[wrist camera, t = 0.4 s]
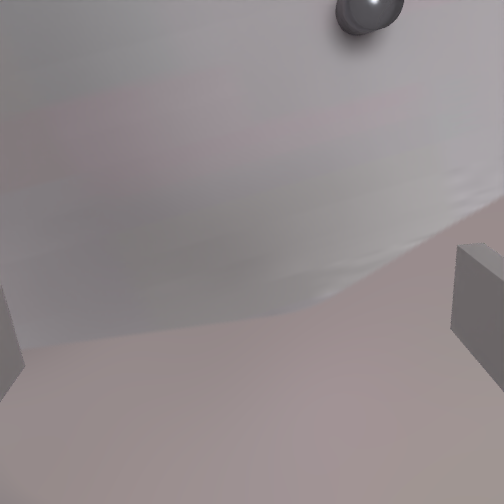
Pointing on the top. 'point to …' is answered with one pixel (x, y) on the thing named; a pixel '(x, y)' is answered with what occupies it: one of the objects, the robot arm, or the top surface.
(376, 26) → the short pin
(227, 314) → the top surface
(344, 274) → the top surface
